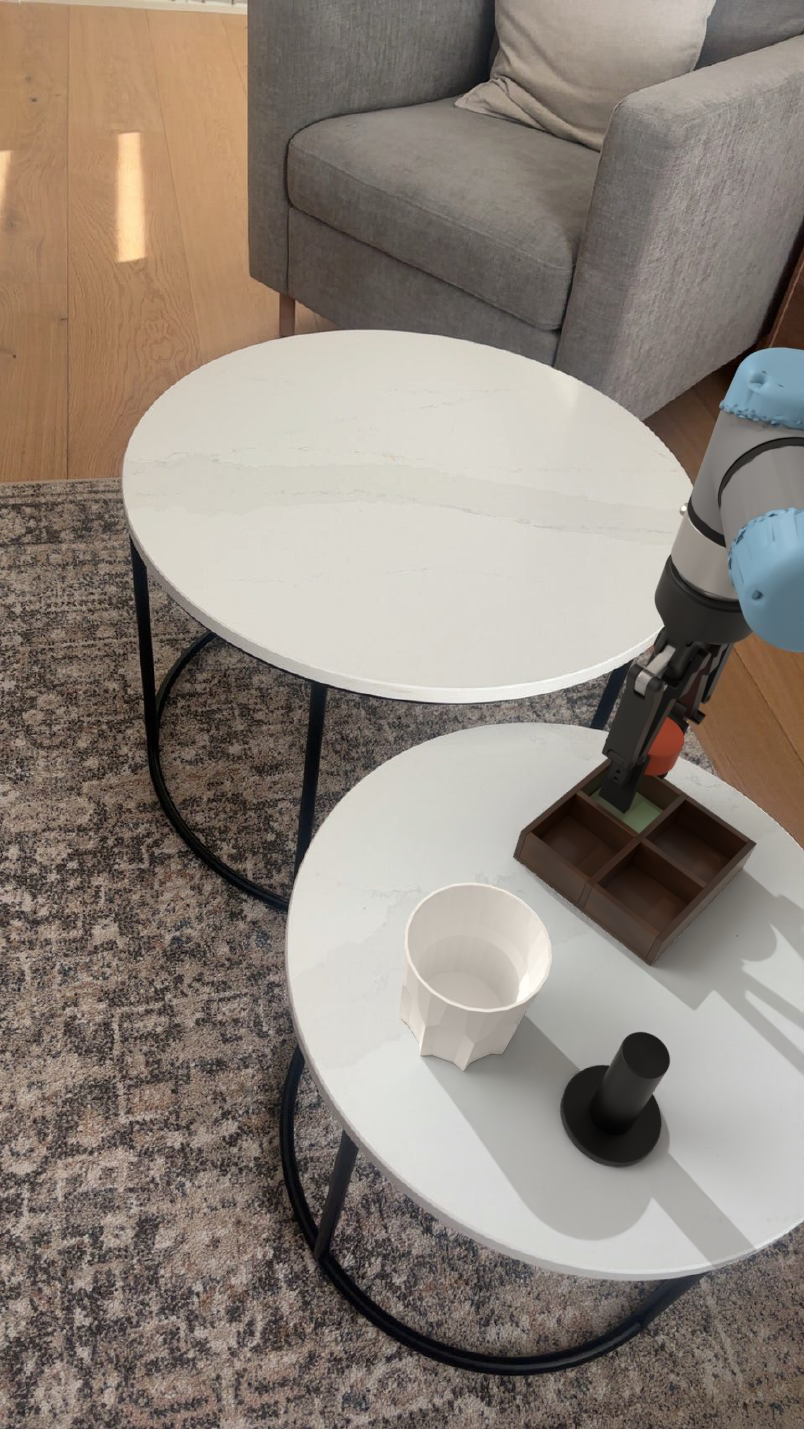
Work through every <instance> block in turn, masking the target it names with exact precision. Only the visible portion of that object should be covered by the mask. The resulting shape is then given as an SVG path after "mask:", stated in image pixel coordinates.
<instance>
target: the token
mask: <svg viewBox="0 0 804 1429" xmlns="http://www.w3.org/2000/svg"><path fill="white" fill-rule="evenodd" d="M684 744H685V735H683V732H682V730H681V729H680V727H679V726H678V725H677V724H676V723H675V722H674V721H673V720H671V719H670V718H668V717H667V718H666V720H665V722H664V724H663V726H662V728H661V729H660V731H659V733H658V735H657V737H656V739H655V741H654V743H653V745H652V746H651V748H650V750H649V752H648V754H647V756H649V757H650V758H651V759H650V761H649V763H648V766H647V768H646V770H645V773H644V775H651V776H656V775H662V774H665V773H667V772H668V773H669V772H670V771H671V770H673V768H674V767H675V765H676V763H677V761H678V759H679V756H680V754H681V752H682V749H683V747H684Z"/></svg>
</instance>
